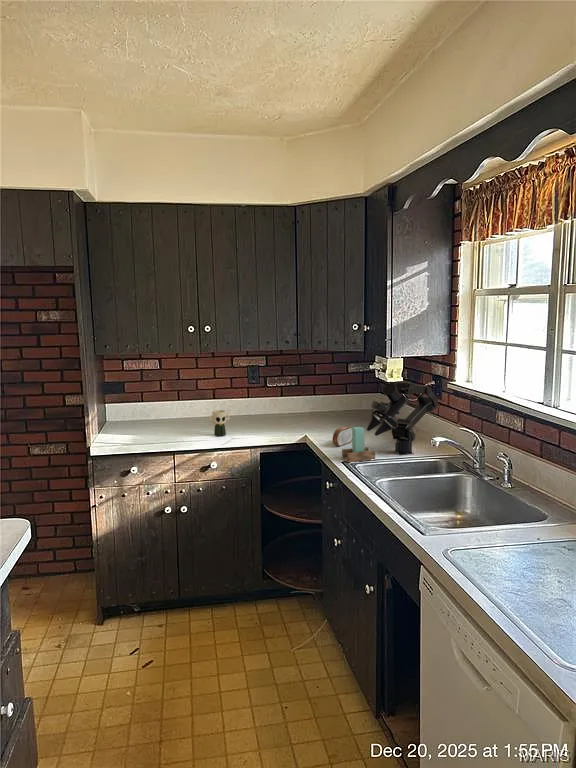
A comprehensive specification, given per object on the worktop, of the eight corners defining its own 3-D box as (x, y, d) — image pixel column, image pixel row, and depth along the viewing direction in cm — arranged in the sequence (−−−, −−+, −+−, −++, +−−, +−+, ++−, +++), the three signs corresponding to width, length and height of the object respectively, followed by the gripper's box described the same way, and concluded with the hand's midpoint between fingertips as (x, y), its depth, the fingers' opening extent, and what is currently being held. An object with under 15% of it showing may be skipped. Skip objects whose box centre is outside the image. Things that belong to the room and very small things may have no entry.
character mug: (211, 438, 296) (210, 413, 295) (208, 435, 303) (207, 411, 301) (232, 435, 301) (231, 411, 299) (228, 432, 307) (227, 409, 305)
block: (360, 455, 252) (360, 426, 250) (364, 457, 248) (364, 428, 246) (352, 456, 251) (352, 427, 249) (355, 458, 247) (355, 429, 245)
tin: (349, 440, 283) (349, 424, 281) (354, 441, 281) (354, 424, 279) (332, 447, 271) (331, 430, 270) (337, 448, 269) (337, 430, 268)
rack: (367, 455, 255) (367, 446, 255) (374, 460, 247) (374, 451, 247) (342, 458, 252) (342, 449, 252) (348, 463, 244) (348, 454, 244)
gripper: (374, 391, 258) (351, 416, 257) (390, 397, 240) (366, 425, 239) (390, 406, 261) (368, 432, 260) (408, 414, 243) (384, 442, 242)
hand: (371, 432), depth 250 cm, fingers open, 9 cm apart
